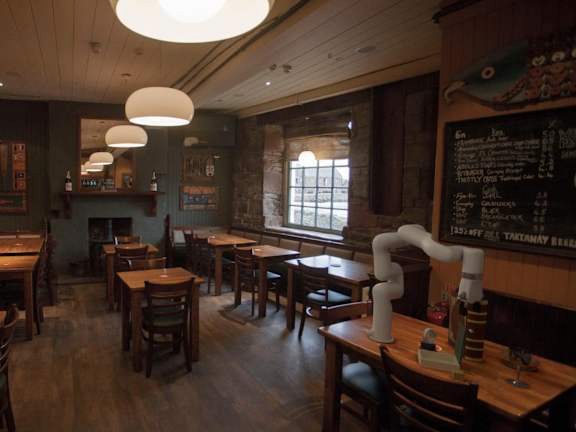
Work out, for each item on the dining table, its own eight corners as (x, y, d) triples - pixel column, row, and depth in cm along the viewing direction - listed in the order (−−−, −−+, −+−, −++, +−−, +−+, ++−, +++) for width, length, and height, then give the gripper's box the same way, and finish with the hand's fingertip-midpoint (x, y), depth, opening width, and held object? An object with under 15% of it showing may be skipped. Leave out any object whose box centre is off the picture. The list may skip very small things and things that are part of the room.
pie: (528, 360, 192) (528, 350, 191) (548, 375, 177) (549, 364, 176) (491, 356, 196) (492, 347, 195) (508, 371, 181) (509, 360, 180)
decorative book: (485, 362, 189) (490, 302, 187) (467, 360, 191) (471, 301, 188) (463, 344, 211) (467, 289, 209) (447, 342, 213) (450, 289, 210)
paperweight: (453, 380, 171) (453, 372, 171) (451, 376, 175) (452, 368, 174) (464, 383, 169) (464, 374, 169) (462, 378, 173) (462, 370, 173)
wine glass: (501, 379, 173) (503, 346, 171) (517, 379, 173) (520, 346, 172) (517, 388, 165) (520, 354, 163) (535, 388, 165) (537, 354, 164)
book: (420, 366, 184) (420, 358, 184) (417, 356, 196) (418, 348, 195) (459, 373, 178) (460, 365, 177) (454, 362, 189) (455, 354, 189)
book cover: (464, 330, 176) (477, 333, 174) (459, 321, 187) (471, 324, 185) (459, 364, 177) (472, 367, 175) (454, 353, 189) (466, 356, 187)
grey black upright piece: (438, 349, 204) (439, 329, 203) (428, 352, 200) (429, 331, 199) (427, 345, 209) (428, 325, 208) (418, 348, 205) (419, 327, 204)
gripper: (475, 272, 180) (472, 309, 181) (451, 276, 173) (448, 313, 174) (493, 276, 173) (490, 313, 175) (468, 279, 166) (466, 319, 168)
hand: (469, 313), depth 175 cm, fingers open, 9 cm apart
